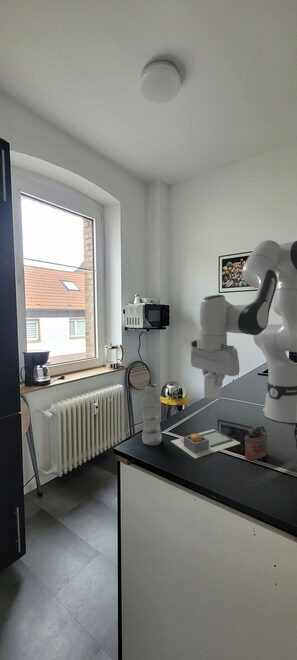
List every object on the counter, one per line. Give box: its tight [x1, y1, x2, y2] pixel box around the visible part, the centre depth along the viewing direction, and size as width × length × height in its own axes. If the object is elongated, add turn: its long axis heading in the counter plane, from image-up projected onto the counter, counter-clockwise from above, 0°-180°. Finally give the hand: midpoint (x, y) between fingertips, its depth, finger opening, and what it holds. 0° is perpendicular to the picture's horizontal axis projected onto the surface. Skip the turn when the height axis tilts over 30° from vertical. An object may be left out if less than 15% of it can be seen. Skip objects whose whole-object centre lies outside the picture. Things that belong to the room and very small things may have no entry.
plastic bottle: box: [140, 384, 163, 447], centre depth 91 cm, size 6×7×20 cm
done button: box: [190, 433, 202, 442], centre depth 86 cm, size 3×3×2 cm
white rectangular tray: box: [170, 429, 241, 459], centre depth 90 cm, size 19×13×4 cm
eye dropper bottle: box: [203, 371, 222, 400], centre depth 92 cm, size 4×6×12 cm
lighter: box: [244, 424, 268, 461], centre depth 81 cm, size 8×3×10 cm, turn 117°
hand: (213, 384), depth 92 cm, fingers closed on eye dropper bottle, 4 cm apart
